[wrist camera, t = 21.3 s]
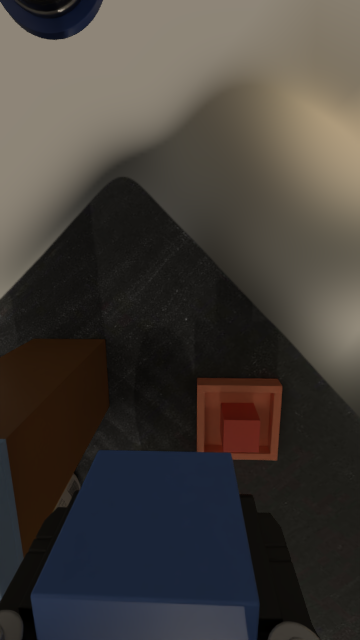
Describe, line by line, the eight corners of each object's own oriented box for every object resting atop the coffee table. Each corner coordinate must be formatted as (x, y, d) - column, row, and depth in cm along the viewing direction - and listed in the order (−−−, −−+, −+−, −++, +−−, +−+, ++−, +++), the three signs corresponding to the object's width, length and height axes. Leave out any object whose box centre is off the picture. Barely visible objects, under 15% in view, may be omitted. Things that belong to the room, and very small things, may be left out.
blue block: (98, 449, 10) (28, 595, 6) (231, 451, 10) (260, 604, 6) (106, 555, 11) (51, 747, 7) (227, 559, 11) (250, 759, 7)
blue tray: (25, 331, 42) (-245, 461, 16) (112, 331, 41) (-22, 466, 15) (35, 411, 44) (-183, 632, 19) (116, 412, 44) (9, 642, 18)
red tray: (197, 377, 42) (197, 385, 40) (277, 378, 42) (282, 386, 39) (196, 447, 45) (196, 458, 42) (272, 449, 44) (277, 460, 42)
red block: (220, 402, 42) (223, 420, 38) (253, 402, 42) (260, 420, 38) (220, 431, 43) (223, 451, 39) (252, 432, 43) (258, 452, 39)
